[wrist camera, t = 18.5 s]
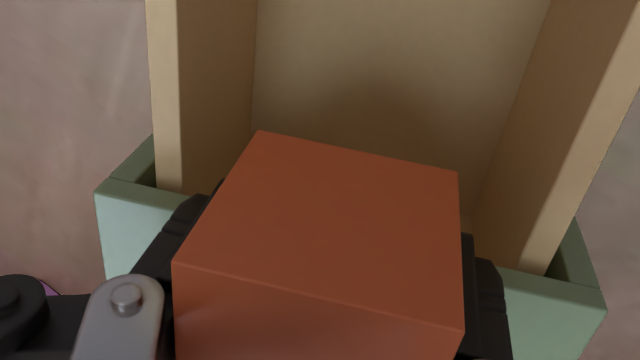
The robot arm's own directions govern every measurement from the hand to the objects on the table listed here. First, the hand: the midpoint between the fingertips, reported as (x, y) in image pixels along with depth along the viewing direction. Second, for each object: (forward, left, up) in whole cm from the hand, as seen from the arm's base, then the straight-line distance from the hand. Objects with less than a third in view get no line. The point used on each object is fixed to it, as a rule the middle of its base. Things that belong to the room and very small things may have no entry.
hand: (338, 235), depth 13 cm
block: (0, 0, 0) cm, 0 cm away
